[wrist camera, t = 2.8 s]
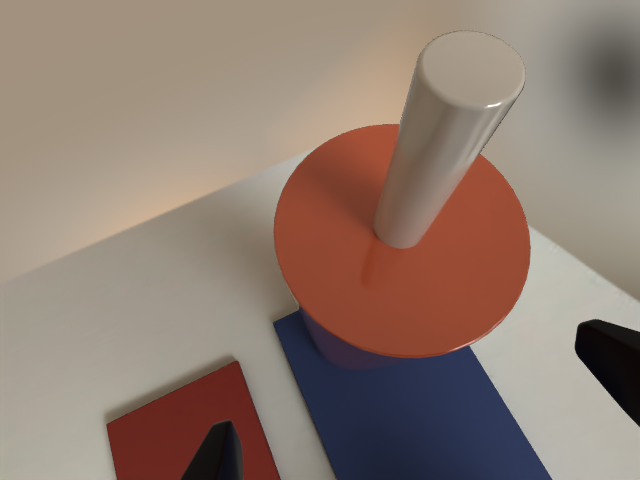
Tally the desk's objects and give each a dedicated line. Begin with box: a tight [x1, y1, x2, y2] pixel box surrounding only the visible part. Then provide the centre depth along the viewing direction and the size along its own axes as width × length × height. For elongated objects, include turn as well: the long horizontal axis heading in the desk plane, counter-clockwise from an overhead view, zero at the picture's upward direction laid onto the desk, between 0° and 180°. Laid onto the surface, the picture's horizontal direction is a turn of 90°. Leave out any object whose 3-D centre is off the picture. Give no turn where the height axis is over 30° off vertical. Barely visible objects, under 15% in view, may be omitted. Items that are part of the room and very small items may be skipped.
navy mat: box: [273, 310, 552, 480], centre depth 16 cm, size 20×9×1 cm, turn 25°
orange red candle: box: [273, 31, 531, 371], centre depth 11 cm, size 5×5×16 cm
